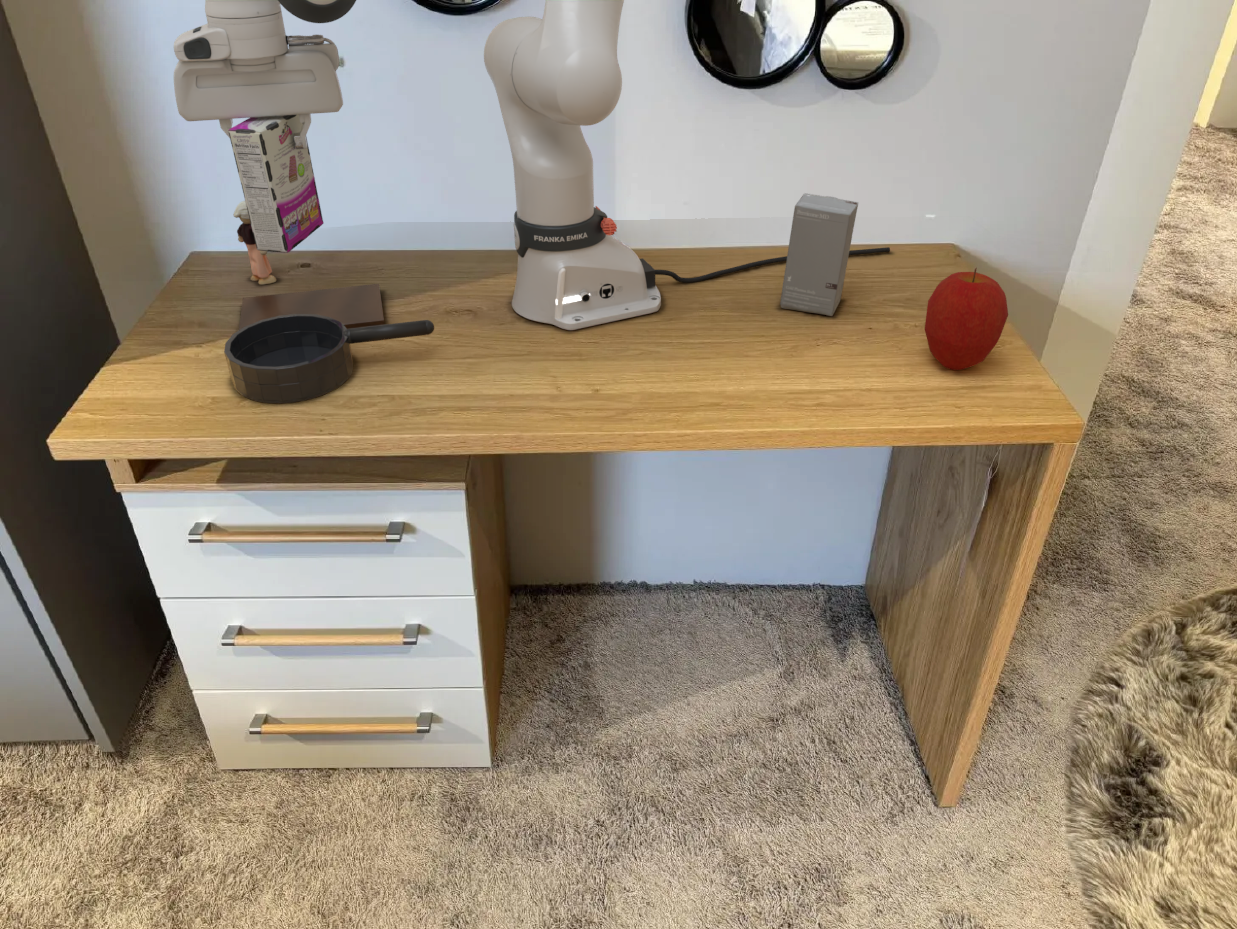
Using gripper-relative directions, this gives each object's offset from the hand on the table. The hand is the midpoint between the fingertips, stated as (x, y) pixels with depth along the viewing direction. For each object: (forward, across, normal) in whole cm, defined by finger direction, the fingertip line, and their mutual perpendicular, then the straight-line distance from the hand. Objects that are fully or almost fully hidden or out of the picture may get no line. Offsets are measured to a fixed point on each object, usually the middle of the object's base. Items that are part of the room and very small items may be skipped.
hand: (271, 149), depth 127 cm
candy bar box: (+12, 0, 0) cm, 12 cm away
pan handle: (+21, -12, +16) cm, 29 cm away
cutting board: (+25, -1, 0) cm, 25 cm away
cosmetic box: (+24, -74, +14) cm, 79 cm away
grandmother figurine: (+25, +7, -17) cm, 31 cm away
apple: (+24, -85, +36) cm, 96 cm away
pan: (+25, +1, +16) cm, 30 cm away
